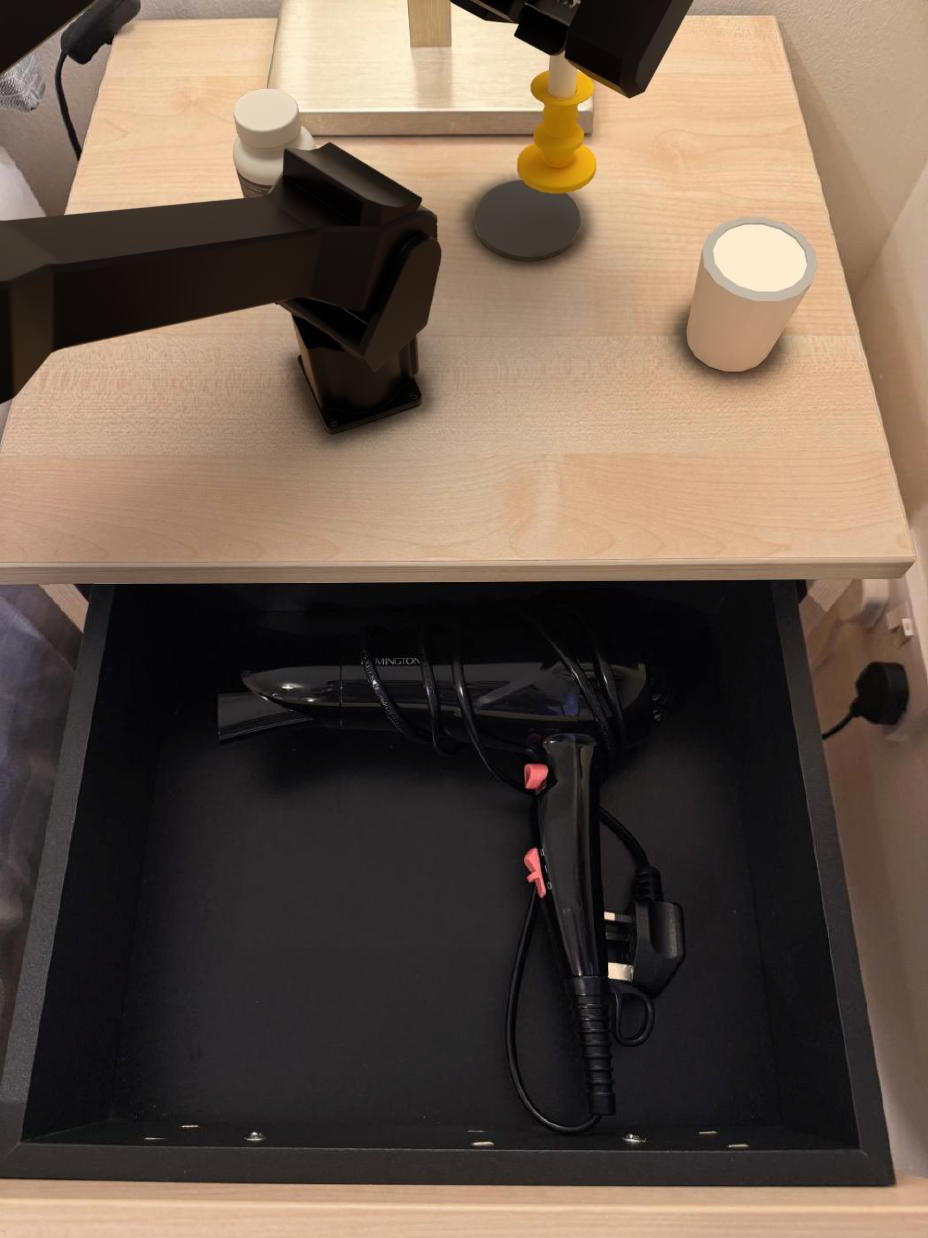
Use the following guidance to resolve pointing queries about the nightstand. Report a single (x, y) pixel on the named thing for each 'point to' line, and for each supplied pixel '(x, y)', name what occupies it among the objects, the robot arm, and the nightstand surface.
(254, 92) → the pill bottle
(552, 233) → the coaster
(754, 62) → the nightstand surface
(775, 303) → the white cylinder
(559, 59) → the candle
